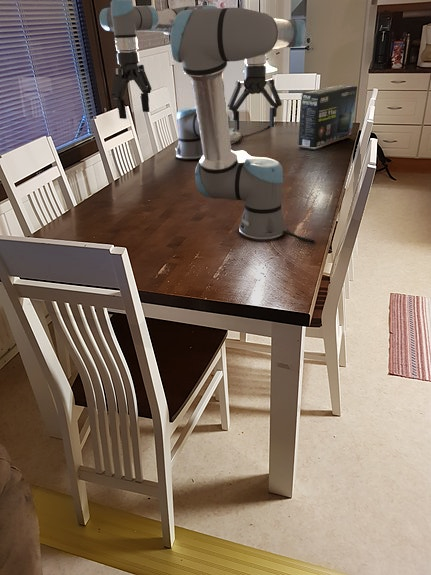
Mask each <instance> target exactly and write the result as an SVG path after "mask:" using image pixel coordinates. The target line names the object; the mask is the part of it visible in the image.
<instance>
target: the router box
mask: <svg viewBox="0 0 431 575" xmlns="http://www.w3.org/2000/svg"><path fill="white" fill-rule="evenodd" d="M357 93H358V86H356V85H350V84H339V85H338V84H337V85H334V86H328V87H324V88H318V89H314V90H309V91H304V92H301V93H300V109H299V110H300V111H299V124H298V137H297V146H298V145H302V146H307V147H317V146H320V145H323V144H325V143H328V142H331V141H333V140H336V139H338V138H341V137H344V136H347V135H351V136H352V133H353V132H352V131H353V125H354V115H355V109H356V99H357ZM311 151H313V150H312V149H311Z"/></svg>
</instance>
